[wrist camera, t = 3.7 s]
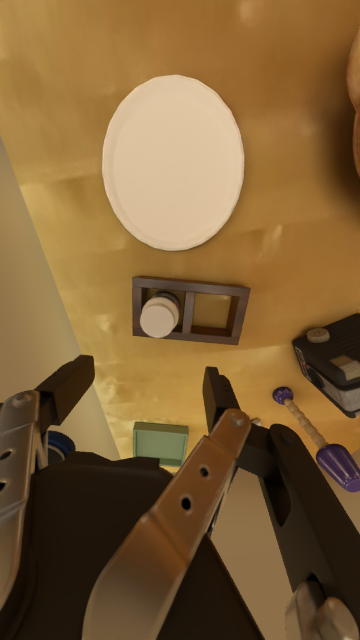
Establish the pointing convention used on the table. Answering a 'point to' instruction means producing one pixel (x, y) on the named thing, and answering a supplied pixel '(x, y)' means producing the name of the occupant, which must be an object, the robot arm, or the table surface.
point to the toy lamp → (324, 447)
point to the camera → (334, 362)
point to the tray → (160, 442)
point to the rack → (190, 287)
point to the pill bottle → (160, 314)
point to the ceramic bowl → (355, 93)
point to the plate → (173, 162)
